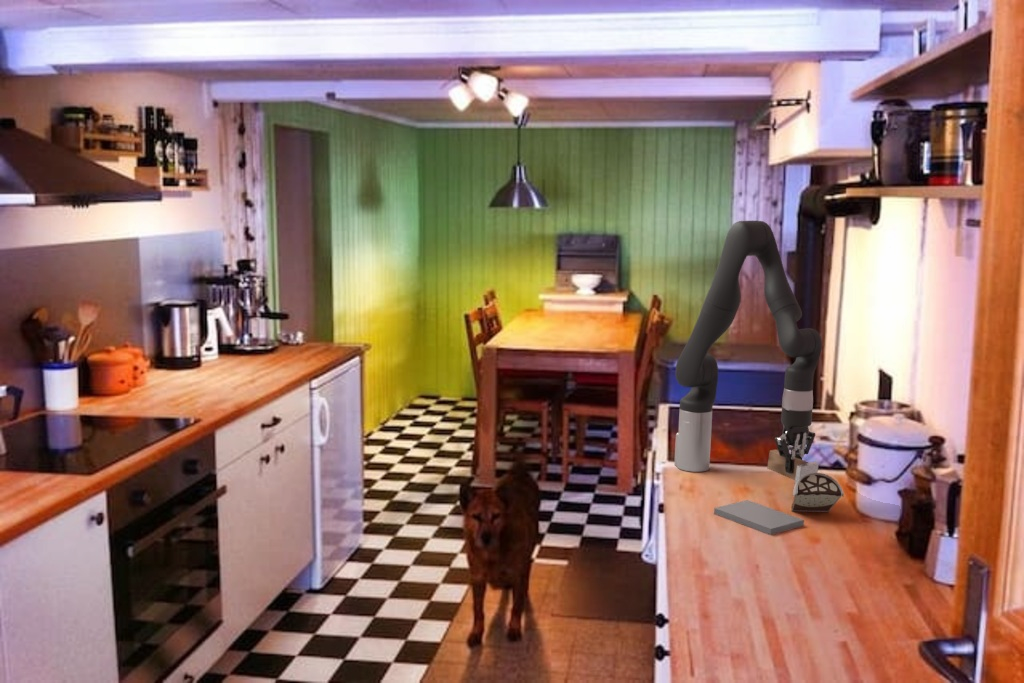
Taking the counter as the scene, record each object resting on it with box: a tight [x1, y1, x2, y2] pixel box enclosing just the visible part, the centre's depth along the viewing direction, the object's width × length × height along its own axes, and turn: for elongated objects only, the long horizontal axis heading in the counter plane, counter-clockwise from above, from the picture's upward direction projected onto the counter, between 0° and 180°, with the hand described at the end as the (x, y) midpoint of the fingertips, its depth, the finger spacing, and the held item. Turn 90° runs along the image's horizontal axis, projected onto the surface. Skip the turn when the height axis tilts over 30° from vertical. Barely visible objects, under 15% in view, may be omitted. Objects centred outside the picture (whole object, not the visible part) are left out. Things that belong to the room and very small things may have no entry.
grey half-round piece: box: [791, 472, 845, 513], centre depth 258 cm, size 12×6×10 cm
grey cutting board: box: [713, 499, 805, 536], centre depth 253 cm, size 18×12×2 cm, turn 36°
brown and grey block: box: [766, 448, 820, 485], centre depth 267 cm, size 12×7×5 cm, turn 35°
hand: (793, 471), depth 266 cm, fingers closed on brown and grey block
